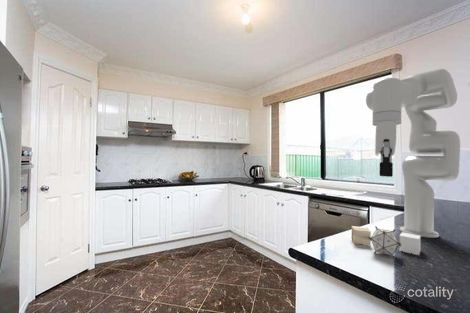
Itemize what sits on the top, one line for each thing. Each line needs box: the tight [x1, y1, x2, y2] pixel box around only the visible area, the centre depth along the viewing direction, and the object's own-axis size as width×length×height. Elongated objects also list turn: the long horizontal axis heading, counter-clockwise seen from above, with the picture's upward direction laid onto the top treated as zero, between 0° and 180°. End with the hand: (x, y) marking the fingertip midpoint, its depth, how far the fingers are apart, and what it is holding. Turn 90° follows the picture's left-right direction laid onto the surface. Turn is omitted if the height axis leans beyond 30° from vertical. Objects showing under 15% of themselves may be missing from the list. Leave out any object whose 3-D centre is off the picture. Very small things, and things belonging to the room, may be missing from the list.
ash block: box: [351, 225, 372, 246], centre depth 82 cm, size 5×5×5 cm
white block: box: [398, 231, 422, 256], centre depth 75 cm, size 5×5×5 cm
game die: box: [368, 226, 401, 259], centre depth 71 cm, size 9×8×10 cm
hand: (385, 175), depth 72 cm, fingers open, 8 cm apart
